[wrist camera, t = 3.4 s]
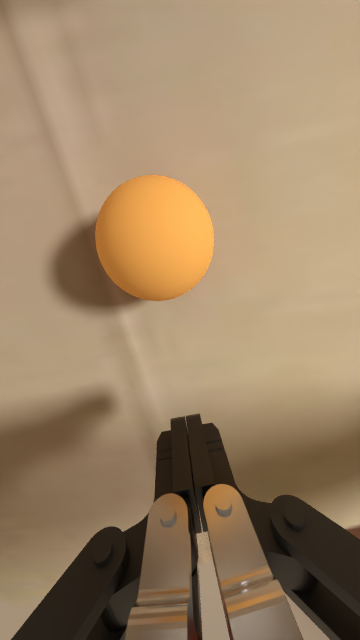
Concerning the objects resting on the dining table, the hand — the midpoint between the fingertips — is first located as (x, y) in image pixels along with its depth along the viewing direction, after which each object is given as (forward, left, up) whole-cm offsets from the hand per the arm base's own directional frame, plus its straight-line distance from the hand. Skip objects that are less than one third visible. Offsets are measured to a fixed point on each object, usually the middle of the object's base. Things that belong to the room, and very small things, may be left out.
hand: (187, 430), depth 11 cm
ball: (+9, 0, -3) cm, 10 cm away
